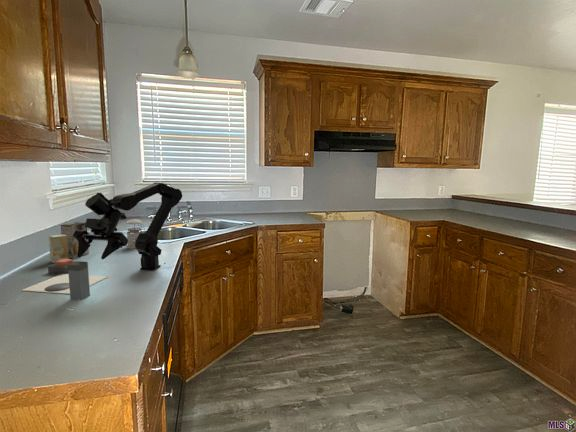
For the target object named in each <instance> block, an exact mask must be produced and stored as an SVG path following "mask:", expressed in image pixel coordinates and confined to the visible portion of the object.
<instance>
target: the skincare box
mask: <svg viewBox="0 0 576 432" xmlns="http://www.w3.org/2000/svg"><path fill="white" fill-rule="evenodd" d="M48 240H49V241H48V242H49V256H50V257H49V259H50V263H52V264H55V262H56V261H59V260H61V259H70V258H68V241H67V235H65V234H55V235H54V234H53V235H48Z"/></svg>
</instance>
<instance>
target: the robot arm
mask: <svg viewBox="0 0 576 432" xmlns="http://www.w3.org/2000/svg"><path fill="white" fill-rule="evenodd" d="M157 194H158V195H160V196H161V197H160V198H161V203H160V206H159V207H158V209H157V211H156V213H155V215H154V217H153V218H152V220H151V222H150V224H149V226H148V228H147V229H146V231H144V232H142V233H140V232H139V233H140V234H139V235H138V238H137V239H136V240H134V241H136V243H135V247H136V248H135V249H136V251H137V252H138V254H139V255H141V257H140V268H139V270H143V271H155V270H156V269H159V268H160V267H161V264H160V262H159V256H161V254H162V249H161V248H160V247H159V246H158V243H159V241H158V239H159V237H158V236H159V233H160V232H161V230H162V228H163V226H164V224H165V222H166V220H167V218H168V217H169V215H170V213H171V211H172V209H173V208H174V207H175V206H177V205H179V203H180V202H181V201H182V198H183V192H182V190H181V189H179V188H175V187H173V186H169V185H167V184H166V183H164V182H158V181H155V182H153V183H152V184H150V185H147V186H144V187H142V188H140V189H138V190H135V191H134V192H133V191H132V192H129V193H121V194H117V195H115V196H114V197H113V198H111V199H108V198H107V197H106V196H105V195H104V194H103V193H102V192H97V193H96V194H94V195H92V196H91V197H89V198H87V200H86V201H85V207H87V208H88V209H89V210H91V211H92V212H93V213H94V214H96V215H97V216H102V217H101V218H100V219H99V218H86V220H85V222H84V223H85V228H87V229H90V230H89V231H90V232H92V234H91V233H90V232H89V231H88V230H87V231H85V230H77V231H75V232H74V234H73V237H74V238H75V239H76V240H77V241H78V254H77V257H76V258H78V259H80V258H81V257H82V256H84V255H83V254H84V253H85V252H86V250H87V249H89V248H90V247H91V243H92V242H93V241H103V242H107V244H106V246H105V248H104V249H103V252H102V255H101V257H100V258H101V260H104V259H106V258H107V257H109V256H111V254H113V253H114V252H116V251H117V250H119V249H122V248H123V247H126V246H127V245H128V239H127V236H126V235H125V234H124V233H123V232H122V231H118V228H117V226H118V224H119V222H120V221H121V220H122V221H123V220H127V216H126V215H125V212H122V211H127V212H128V211H130V210H132V209H133V207H134V208H135V207H137V205H138V204H139V203H140V202H142V201H144V200H146V199H148V198H150V197H153V196H155V195H157Z"/></svg>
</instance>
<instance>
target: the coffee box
mask: <svg viewBox="0 0 576 432" xmlns="http://www.w3.org/2000/svg"><path fill="white" fill-rule="evenodd" d="M85 223H86V222H80V221H78V222H77V221H76V222H70V223H65V224H60V231H61V232H60V233H61V234H60V235H62V234H65V235H67V241H68V258H69V259H76V258H78V257H77V254H78V241H77V240H76V239H75V238H74V237H73V234H74V232H75V231H77V230H85V231H87V232H88V230H87V229H88V228H85ZM89 250H90V249H89V248H88V249H87V250H86V252H85V253H84V254H83V255H82V256H86V255H88V254H90V251H89Z"/></svg>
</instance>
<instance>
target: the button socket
mask: <svg viewBox="0 0 576 432" xmlns="http://www.w3.org/2000/svg"><path fill="white" fill-rule="evenodd" d="M72 261H73V262H76V261H77V260H76V261H74V260H72ZM47 271H48V274H54V275H55V274H56V275H61V274H68V265H66V266H58V265H56V263H52V264H50V265H47Z"/></svg>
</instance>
